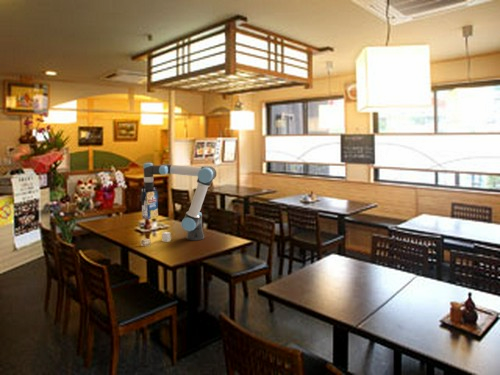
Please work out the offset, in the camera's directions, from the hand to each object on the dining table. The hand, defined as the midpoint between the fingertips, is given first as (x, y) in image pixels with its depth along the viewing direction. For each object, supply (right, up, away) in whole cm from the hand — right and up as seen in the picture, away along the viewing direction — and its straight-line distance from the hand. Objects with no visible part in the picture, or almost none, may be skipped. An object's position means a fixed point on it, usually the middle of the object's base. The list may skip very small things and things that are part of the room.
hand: (149, 208), depth 303 cm
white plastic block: (+13, -28, +4) cm, 31 cm away
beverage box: (0, -8, +1) cm, 8 cm away
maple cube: (-1, -29, -9) cm, 31 cm away
